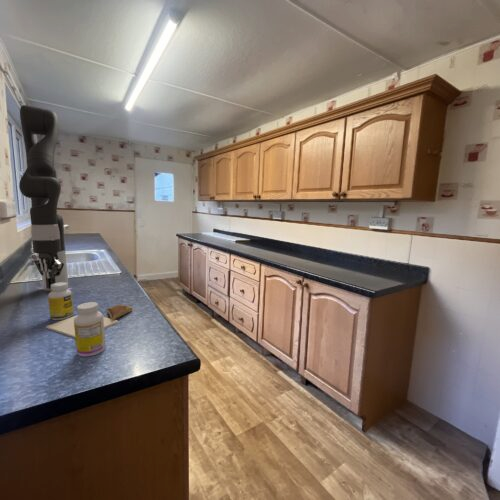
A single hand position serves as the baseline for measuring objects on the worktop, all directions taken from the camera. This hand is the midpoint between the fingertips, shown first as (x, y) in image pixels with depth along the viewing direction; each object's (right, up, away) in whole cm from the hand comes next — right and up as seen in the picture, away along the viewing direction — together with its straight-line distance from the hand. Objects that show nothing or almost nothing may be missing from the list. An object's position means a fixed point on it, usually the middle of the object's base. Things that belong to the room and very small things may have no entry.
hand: (51, 288), depth 93 cm
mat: (+15, -11, -6) cm, 19 cm away
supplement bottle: (+26, -14, -21) cm, 36 cm away
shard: (+23, -10, +3) cm, 25 cm away
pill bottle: (+4, -10, 0) cm, 11 cm away
